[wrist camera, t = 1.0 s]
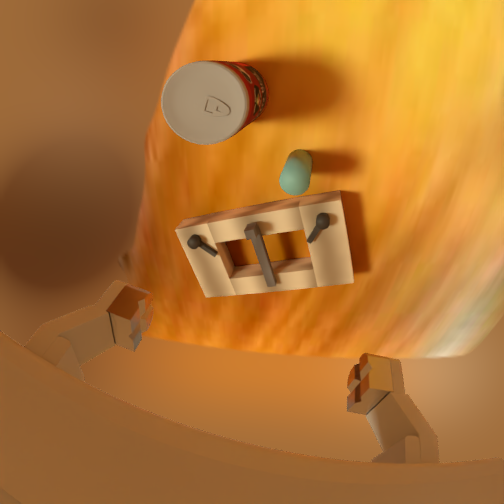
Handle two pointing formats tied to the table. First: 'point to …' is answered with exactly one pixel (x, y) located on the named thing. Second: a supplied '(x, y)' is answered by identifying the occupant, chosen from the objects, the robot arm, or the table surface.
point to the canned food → (213, 100)
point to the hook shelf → (254, 227)
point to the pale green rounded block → (296, 173)
